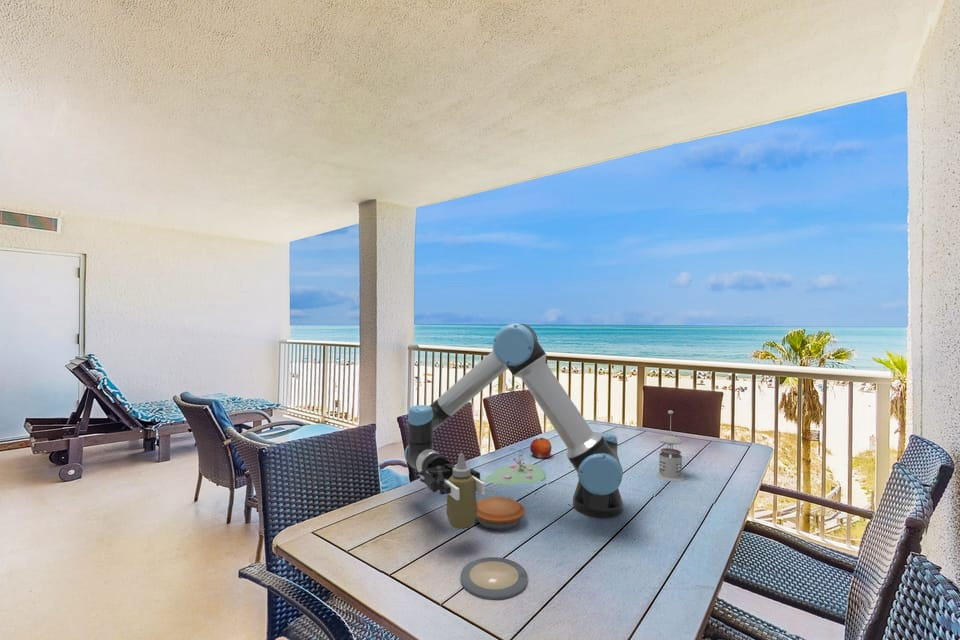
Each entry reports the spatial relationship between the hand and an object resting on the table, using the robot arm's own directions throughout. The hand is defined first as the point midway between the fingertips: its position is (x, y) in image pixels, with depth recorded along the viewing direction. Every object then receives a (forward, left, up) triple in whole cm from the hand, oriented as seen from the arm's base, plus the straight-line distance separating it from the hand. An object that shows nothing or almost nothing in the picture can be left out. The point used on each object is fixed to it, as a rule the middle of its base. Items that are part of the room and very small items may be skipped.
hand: (471, 491), depth 108 cm
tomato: (+2, -86, -16) cm, 88 cm away
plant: (+6, -59, -17) cm, 62 cm away
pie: (0, -21, -16) cm, 27 cm away
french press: (-49, -80, -16) cm, 96 cm away
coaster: (-8, +7, -16) cm, 19 cm away
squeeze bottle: (+4, -3, -10) cm, 11 cm away
